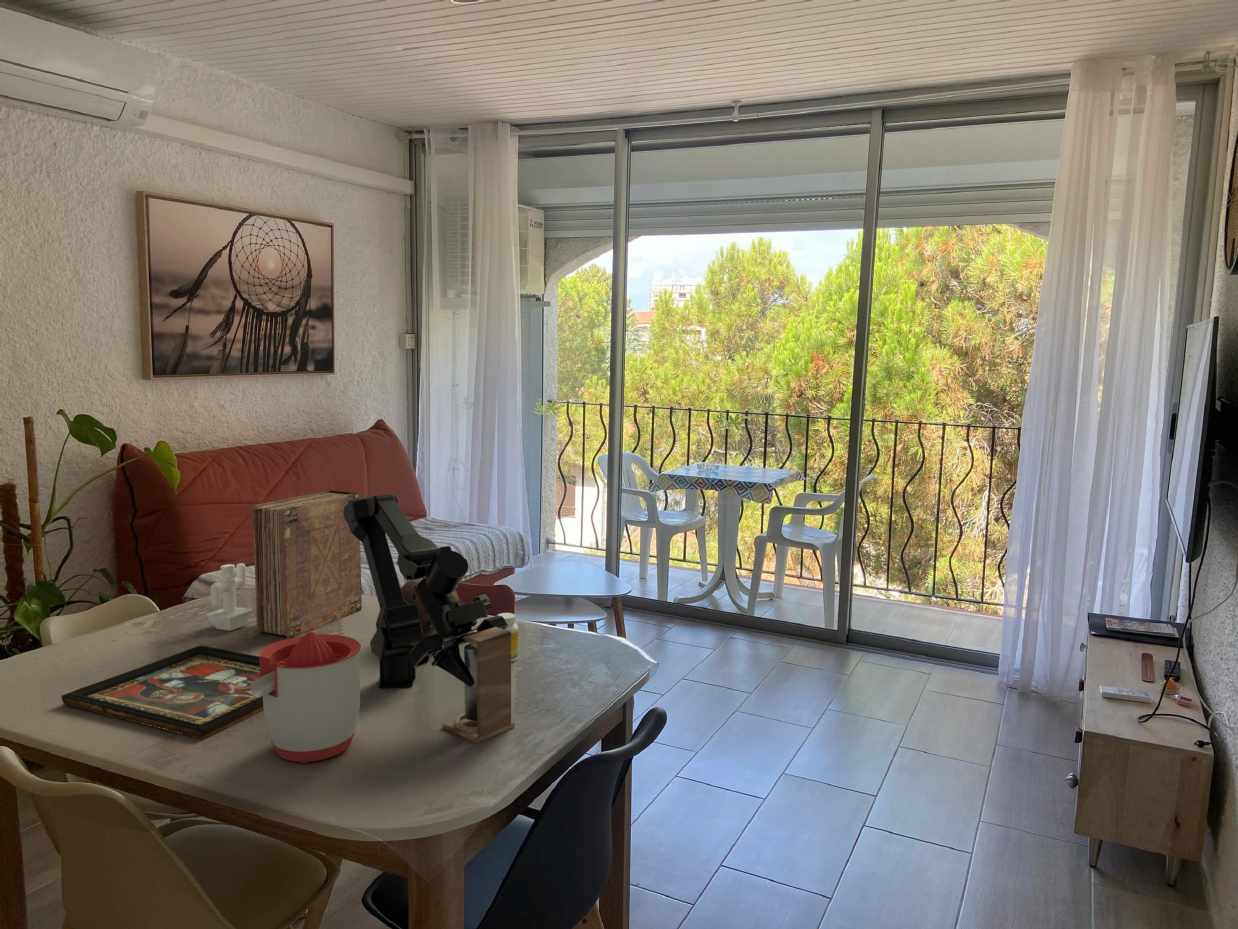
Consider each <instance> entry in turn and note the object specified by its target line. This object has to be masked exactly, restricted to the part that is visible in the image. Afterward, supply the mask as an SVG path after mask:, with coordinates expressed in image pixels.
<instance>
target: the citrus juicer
mask: <svg viewBox="0 0 1238 929" xmlns="http://www.w3.org/2000/svg"><path fill="white" fill-rule="evenodd" d="M361 647H362V646H361V643H360V642H359V641H358V640H357V639H355V638H353V637H349V636H345V635H339V634H327V633H326V634H325V633H323V634H322V633H321V634H317V633H316V632H314V631H312V630H311V631H308V632H306V633H304V635H302V636H301V635H298V636H296V637H293V638H289V639H286V638H285V639H283V640H279V641H276V642H273V643H271V644H269V645H268V646H266V647H264V648H263V649H262V650H261V652H260V654H259V660H260V678H258V679H257V680H255V681H254V682H253V683H252V686H251V693H252V695H253V696H254V697H257V698H258V697H261V696H263V707H264V710H263V713H264V720H265V723H266V728H267V731H268V734H269V737H270V741H271V745H272V746H273V748H274V750H275V752H276V753H277V755H278V756H279V757H280V758H282V759H284V760H287V761H291V762H298V763H300V764H306V763H309V762H317V761H321V760H326V759H329V758H332V757H335V756H337V755H339V754H341V753H343V752H344V751H346V750H347V749H348V748H349V747H350V745H351V743H352V740H353V738H354V736H355V734H356V727H357V724H358V721H359V715H360V709H361V708H360V707H361V706H360V705H361V679H360V678H361V676H360V651H361Z"/></svg>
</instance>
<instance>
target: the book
mask: <svg viewBox="0 0 1238 929" xmlns="http://www.w3.org/2000/svg"><path fill="white" fill-rule="evenodd" d="M351 499H360V494H359V493H358V492H350V491H340V490H339V491H338V490H326V491H320V492H319V491H318V492H315V493H310V494H304V495H299V496H294V497H289V498H285V499H280V500H275V501H270V502H269V501H268V502H264V503H260V504H254V505H253V506H252V524H253V525H252V527H253V529H252V530H253V532H252V533H253V554H254V556H253V557H254V559H253V560H254V579H255V580H254V581H255V582H254V583H255V586H254V587H255V605H256V606H255V609H256V610H255V611H256V615H255V616H256V633H257V634H258V635H261V634H263V633H268V634H274V635H279V636H285V637H286V638H287V639H289V638H294V637H299V636H301V635H303V634H306V633H308V632H310V631H311V632H312V630H315V629H317V628H318V629H319V628H320V627H322V626H325V625H328V624H330V623H332V622H334V621H337V620H340V619H342V618H344V617H347V616H350V615H352V614H354V613H358V612H359V611H361V610H362V607H363V605H362V604H363V601H362V599H363V598H362V568H361V567H362V566H361V560H362V559H361V541H360V540H359V539H358V538H356V537H355V536H354V535H353V534H352V533H351V531H350V528H349V526H348V523H347V522H346V521H345V518H344V507H345V506H346V505H348V502H349V501H350V500H351Z"/></svg>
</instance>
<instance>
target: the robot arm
mask: <svg viewBox="0 0 1238 929" xmlns="http://www.w3.org/2000/svg"><path fill="white" fill-rule="evenodd" d="M344 518H345V521H346V522H347V523H348V526H349V528H350V531H351V533H352V534H353V535H354V536H355V537H356V538H358V539H359V540H360V543H362V548H363V551H364V554H365V558H366V562H367V565H368V569H369V573H370V576H371V579H372V582H373V587H374V591H375V594H376V598H377V602H378V605H379V613H378V616H377V620H376V622H375V628H376V631H375V633H374V635H373V636H372V638H371V639H370V640H369V641H370V642H369V645H370V649H371V650H370V651H371V653H372V654H373V655H374V656H376V657H377V658H379V659H378V660H379V661H378V662H379V664H378V666H379V682H378V688H380V689H381V688H396V687H397V688H398V687H400V688H401V687H412V686H413V685H414V681H415V680H416V678H417V668H419V667H421V666H425V665H427V664H428V663H429V660H430V656H431V655H432V658H433V659H434V660H433V661H431V664H430V665H431V666H432V667H438V668H440V669H441V670H444V671H445V672H447V673H448V674H450V675H452V676H454V678H456V679H457V680H459V681H461V682H462V683H463V684H464V683H465V684H466V685H468V686H469V687H471V686H472V685H473V684H474V682H473V679H472V677H471V675H470V673H469V671H468V669H467V667H466V665H465V664H464V659H463V658H462V656H461V652H460V646H461V645H465V644H471V643H469V642H466V641H465V636H468V635H471V634H474V633H477V632H481V631H484V630H487V629H490V628H493V627H498V628H501V629H504V630H505V629H506V628H507V627H508V624H507V623H506V621H505V619H504V618H503V617H502V616H499V615H498V614H497V615H495V616H491V617H489V616H488V612H490V611H492V609H493V605H492V600H490V598H489V597H488V595H487V594H486V593H483V594H479V595H478V596H475V597H473V599H472V600H473V601H472V602H469V603H465V602H464V601H463V600H460V601H456V600H455V598H454V596H453V594H452V592H453V591H455V590H456V589H457V588H458V587H459V584H460V583H461V582H462V580H463V579H464V577H465V575H466V574H467V573H468V570H469V563H468V560H467V559H466V558H465V557H464V556H463V555H462V554H461V553H459V552H457V551H453V550H452V548H451V546H450V545H446V546H439V547H438V546H437V545H436V543H434V542H433V541H432V539H429V538H427V537H424V536H422V535H421V534H419V533H418V531H417V530H416V528H415V527H414V525H413V524H412V523H411V521H410V520H409V518H408V517H407V515H406V514H405V512H404V510H402V508H401V507H400V505H399V502H398V498H397V496H396V494H392V493H391V494H390V493H387V494H377V495H372V496H371V497H362V498H359V499H351V500H350V501H349V502H348V505H346V506H345V507H344ZM387 538H388V539H389V540H390V542H391V543H392V545H393V546H394V548H395V550H396V552H397V554H398V555H397V560H396V565H397V566H398V569H399V572H400V574H401V575H402V577H403V578H404V580H407V581H409V580H414V579H419V578H424V579H422V580H421V581H420V582H419V584H418V585H415V586H414V591H413V594H412V600H413V601H416V600H419V602H420V604H421V605H422V607H423V609H424V611H425V613H426V615H427V616H428V618H429V620H428V621H427V623H426V624H427V626H428V628H430V627H433V628H434V629H435V631H436V633H437V634H434V635H431V636H427V637H424V638H423V634H424V628H423V625H422V623H421V620H420V618H419V615H418V611H417V607H416V606H415V605H414V604H411V605H409V604H408V603H407V602H406V601H405V600H404V598H403V594H402V591H401V587H402V586H401V584H400V581H399V577H398V574H397V573H398V572H397V571H396V566H395V563H394V559H393V556H392V553H391V549H390V546H389V542H388V539H387ZM425 577H426V578H425ZM481 618H483V620H482V621H481V623H479V625H478V626H477V627H476V628H474V629H472V628H473V627H475V626H476V624H478V621H477V620H479V619H481Z"/></svg>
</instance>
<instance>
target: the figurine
mask: <svg viewBox="0 0 1238 929" xmlns="http://www.w3.org/2000/svg"><path fill="white" fill-rule="evenodd" d="M220 573H221V580H220V581H217V582H214V583H212V584H211V586H210V605H211V606H212V607H219V606H220V605H221V604H222V608H220V609H218V610H215V611H211V612H208V613H206V614H205V615H206V616H207V618H208V619H209V620H210V622H211V623H212V625H213V626H214V628H215V629H216V630H221V631H223V630H224V631H231V632H232V631H233V630H237V629H239V628H241V627H242V628H243V627H245V626H246V625H247V622H248V621H249V619H250V617H251V615H252V613H253V612H254V609H252V608H251V609H250V608H246V607H240V606H239V607H238V606H237V600H236V599H237V598H236V597H237V596H236V595H237V594H236V590H237V589H239V588H242V587H244V586H245V585H246V583H247V569H246V565H245V563H242V562H241V563H237V564H236V565H235V564H233V563H231V564H229V563H227V564H224V565H220ZM221 597H222V601H221ZM221 602H222V603H221Z"/></svg>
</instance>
